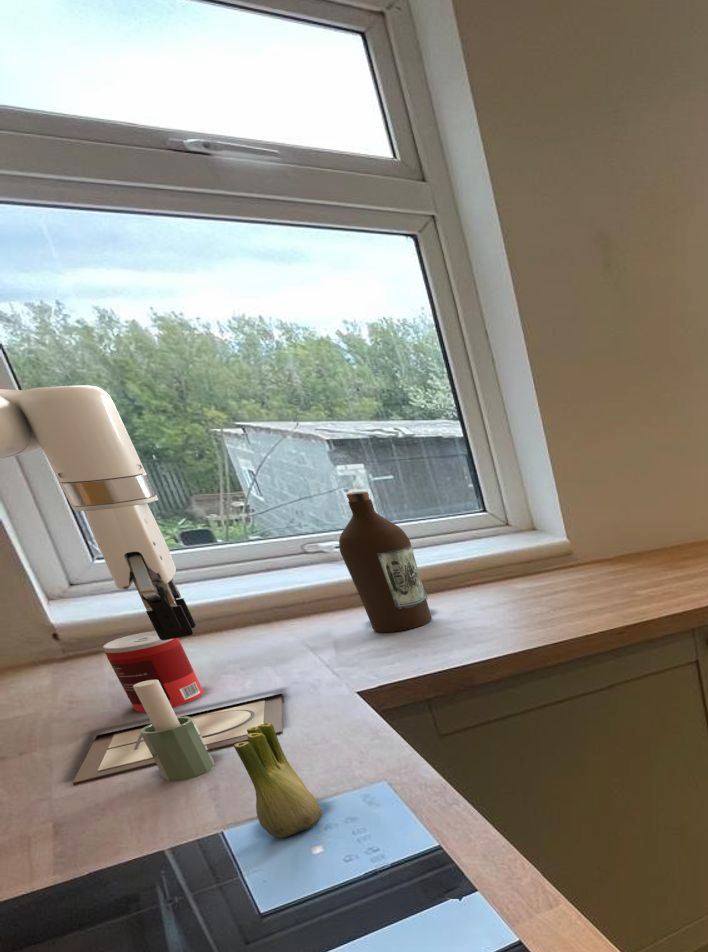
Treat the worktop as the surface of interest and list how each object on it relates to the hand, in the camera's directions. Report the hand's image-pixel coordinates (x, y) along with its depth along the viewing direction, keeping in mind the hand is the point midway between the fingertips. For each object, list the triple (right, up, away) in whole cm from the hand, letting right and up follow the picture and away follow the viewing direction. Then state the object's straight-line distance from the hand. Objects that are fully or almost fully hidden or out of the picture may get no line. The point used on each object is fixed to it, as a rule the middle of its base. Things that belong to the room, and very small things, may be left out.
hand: (178, 632), depth 107 cm
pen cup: (+8, -18, -6) cm, 21 cm away
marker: (+8, -18, -6) cm, 20 cm away
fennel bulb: (+32, -23, -19) cm, 43 cm away
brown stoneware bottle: (-6, +4, +48) cm, 49 cm away
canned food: (-16, -11, +15) cm, 24 cm away
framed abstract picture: (-3, -14, +4) cm, 15 cm away
